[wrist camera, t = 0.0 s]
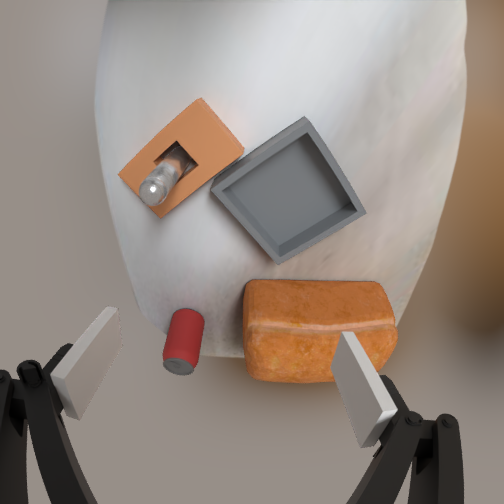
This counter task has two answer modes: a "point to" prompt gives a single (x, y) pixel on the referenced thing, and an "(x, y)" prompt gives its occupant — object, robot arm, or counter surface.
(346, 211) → the tray
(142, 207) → the counter surface
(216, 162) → the orange block with hole
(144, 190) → the pin
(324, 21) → the counter surface
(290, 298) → the bread
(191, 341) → the beer can
